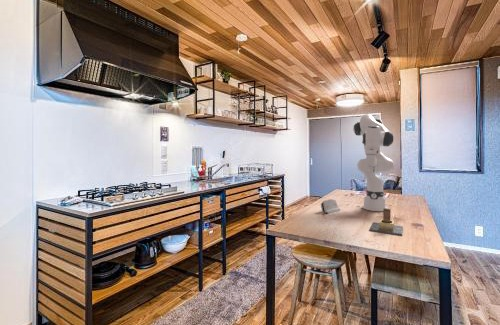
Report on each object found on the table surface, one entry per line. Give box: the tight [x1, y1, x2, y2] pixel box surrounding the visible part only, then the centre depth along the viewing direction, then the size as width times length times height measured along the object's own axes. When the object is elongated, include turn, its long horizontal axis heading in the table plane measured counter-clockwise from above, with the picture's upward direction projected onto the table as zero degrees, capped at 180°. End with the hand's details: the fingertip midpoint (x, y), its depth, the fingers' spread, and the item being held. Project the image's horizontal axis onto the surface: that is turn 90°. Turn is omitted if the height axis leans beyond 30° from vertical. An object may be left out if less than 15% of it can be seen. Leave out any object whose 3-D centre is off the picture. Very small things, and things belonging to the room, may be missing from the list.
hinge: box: [320, 198, 341, 215], centre depth 192 cm, size 17×5×10 cm, turn 130°
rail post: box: [382, 207, 392, 223], centre depth 149 cm, size 4×4×11 cm
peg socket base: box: [369, 218, 404, 237], centre depth 150 cm, size 16×16×4 cm
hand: (372, 172), depth 166 cm, fingers open, 8 cm apart
